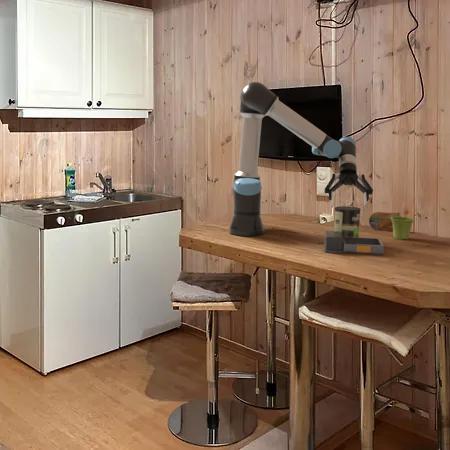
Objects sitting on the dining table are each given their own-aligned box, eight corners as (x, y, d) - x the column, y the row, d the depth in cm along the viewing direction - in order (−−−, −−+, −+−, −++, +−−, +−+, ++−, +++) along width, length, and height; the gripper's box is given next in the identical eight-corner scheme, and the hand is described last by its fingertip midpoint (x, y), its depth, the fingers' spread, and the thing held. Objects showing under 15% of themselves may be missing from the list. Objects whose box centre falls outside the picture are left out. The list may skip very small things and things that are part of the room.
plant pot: (409, 241, 244) (410, 221, 242) (386, 238, 248) (388, 218, 247) (415, 238, 251) (416, 218, 250) (393, 235, 256) (394, 215, 255)
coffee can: (362, 241, 241) (364, 207, 239) (351, 245, 233) (353, 210, 231) (339, 238, 248) (341, 205, 245) (328, 242, 239) (330, 208, 237)
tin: (368, 229, 270) (369, 211, 269) (369, 228, 273) (370, 210, 272) (402, 232, 265) (403, 213, 263) (402, 231, 268) (404, 212, 266)
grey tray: (324, 252, 220) (325, 237, 219) (323, 244, 234) (324, 230, 233) (383, 255, 217) (384, 239, 216) (378, 247, 231) (379, 232, 230)
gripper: (375, 173, 259) (378, 212, 248) (318, 172, 263) (318, 210, 251) (377, 162, 253) (380, 201, 241) (319, 161, 256) (319, 199, 244)
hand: (348, 206), depth 246 cm, fingers open, 13 cm apart
